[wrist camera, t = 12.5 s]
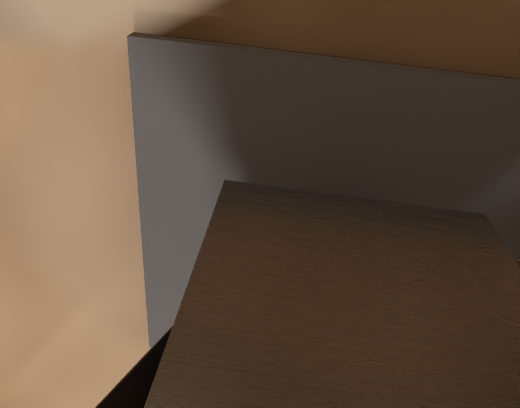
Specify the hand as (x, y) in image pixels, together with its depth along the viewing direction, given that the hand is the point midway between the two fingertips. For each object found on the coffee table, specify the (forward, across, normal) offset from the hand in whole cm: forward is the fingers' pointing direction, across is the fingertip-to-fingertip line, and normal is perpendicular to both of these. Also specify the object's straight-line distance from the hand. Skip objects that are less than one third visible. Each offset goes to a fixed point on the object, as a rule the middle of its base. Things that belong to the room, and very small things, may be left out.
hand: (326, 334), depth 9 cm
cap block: (+1, 0, 0) cm, 1 cm away
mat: (+3, 0, 0) cm, 3 cm away
